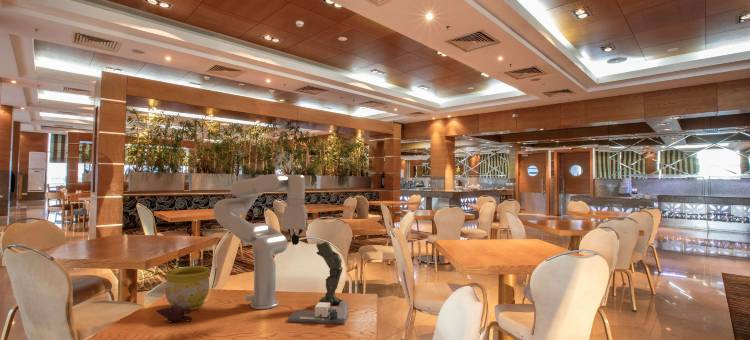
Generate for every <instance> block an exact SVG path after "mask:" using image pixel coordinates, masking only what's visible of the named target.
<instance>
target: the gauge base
mask: <svg viewBox="0 0 750 340" xmlns="http://www.w3.org/2000/svg"><path fill="white" fill-rule="evenodd" d="M349 312H350V311H349V300H343V301H341V302H340V304H339V305H338V306H337V310H336V313H332V312H330V313H329V315H328V316H327V317H315V310H311V309H310V310H309V309H308V310H307V309H295V310H294V311H293V312H292V313H291V315H290V316H288V318H287V319H288V320H287V321H288V323H306V324H309V323H310V324H328V325H345V324H346V322H347V320H348V317H349V315H350V314H349Z"/></svg>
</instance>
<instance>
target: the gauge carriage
mask: <svg viewBox="0 0 750 340" xmlns="http://www.w3.org/2000/svg"><path fill="white" fill-rule="evenodd" d="M314 311H315V317H327V316H328V315H329V313H330V312H332V313H336V312H337V307H336V306H335V307H334V306H331V305H330V303H326V302H319V301H318V302H317V303H316V305H315V306H314Z"/></svg>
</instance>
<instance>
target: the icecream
mask: <svg viewBox="0 0 750 340" xmlns="http://www.w3.org/2000/svg"><path fill="white" fill-rule="evenodd" d="M192 312H193V310H191V309H190V308H186V309H184V308H183V307H182V306H179V305H177V304H175V305H173V306H172V307H166V308H161V309H157V310H156V313H157V314H159V315H161V316H162V317H164V318H166V319H167V321H168V322H169V321H174V322H173V323H176V322H175V321H177V322H180V321H181V320H183V321H185V320H189V321H190V320H192V321H193V318H192V317H191V316H190V314H191V313H192ZM179 320H180V321H179ZM190 322H191V321H190Z"/></svg>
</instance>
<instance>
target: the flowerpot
mask: <svg viewBox="0 0 750 340" xmlns="http://www.w3.org/2000/svg"><path fill="white" fill-rule="evenodd" d="M210 271H211V268H210V267H206V266H199V265H198V266H195V265H194V266H183V267H176V268H172V269H169V270H167V271H166V272H165V276H166V279H165V280H166V282H165V290H164V291H165V292H164V293H165V299H166V300H167V303H168V304H169V307H172V306H173V305H175V304H177V305H179V306H182V307H183V308H184V309H186V308H190V309H191V310H192V311H194V310H193V309H196V310H198V309H197V308H199V309H201V308H202V307H203V306H204V304H206V302H205V300H206V299H207V296H208V295H209V291H210V280H209V279H210V278H209V277H210V274H209V273H210ZM169 307H168V308H169ZM200 307H201V308H200Z"/></svg>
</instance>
